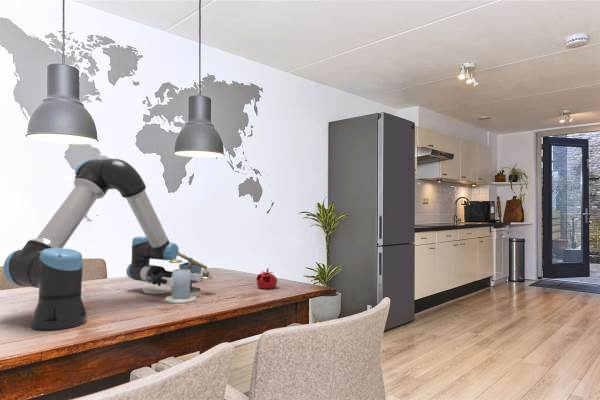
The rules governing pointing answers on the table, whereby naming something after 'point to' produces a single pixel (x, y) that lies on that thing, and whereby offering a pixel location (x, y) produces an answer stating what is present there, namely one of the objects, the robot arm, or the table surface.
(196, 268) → the flower pot
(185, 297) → the cup
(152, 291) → the dish high
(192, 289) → the balance
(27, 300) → the table surface
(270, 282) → the pomegranate
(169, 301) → the dish low
